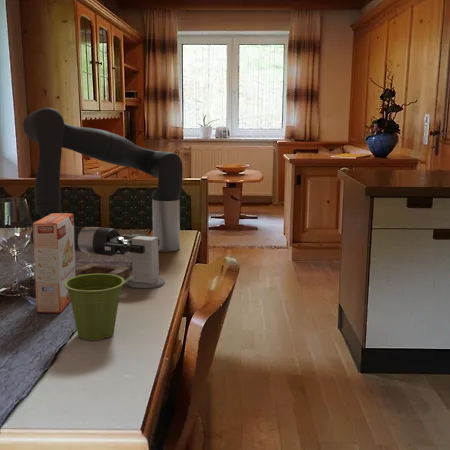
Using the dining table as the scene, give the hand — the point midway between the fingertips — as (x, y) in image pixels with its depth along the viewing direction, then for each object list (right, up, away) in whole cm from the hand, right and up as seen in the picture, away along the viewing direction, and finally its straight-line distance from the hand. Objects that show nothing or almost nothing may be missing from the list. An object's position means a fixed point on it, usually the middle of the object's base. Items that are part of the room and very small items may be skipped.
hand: (151, 245), depth 140 cm
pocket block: (-16, -10, +5) cm, 19 cm away
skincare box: (-2, -10, +3) cm, 10 cm away
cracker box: (-20, -13, -14) cm, 28 cm away
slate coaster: (-2, -10, +3) cm, 11 cm away
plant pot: (-7, -17, -32) cm, 37 cm away
